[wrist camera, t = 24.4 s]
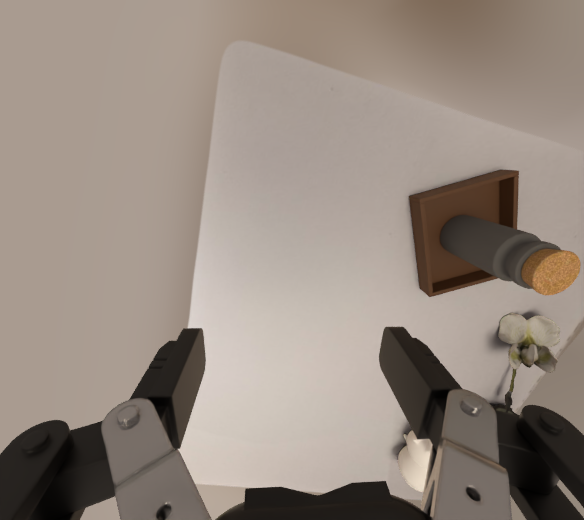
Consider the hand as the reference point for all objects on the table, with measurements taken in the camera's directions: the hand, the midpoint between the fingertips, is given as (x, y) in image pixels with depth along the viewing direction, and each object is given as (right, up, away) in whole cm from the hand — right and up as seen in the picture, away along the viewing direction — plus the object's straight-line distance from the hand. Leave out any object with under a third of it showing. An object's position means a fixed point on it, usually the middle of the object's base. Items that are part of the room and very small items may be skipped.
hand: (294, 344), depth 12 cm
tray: (+25, +8, +29) cm, 39 cm away
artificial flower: (+39, -15, +39) cm, 57 cm away
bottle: (+25, +8, +29) cm, 39 cm away
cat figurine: (+26, -34, +45) cm, 62 cm away
